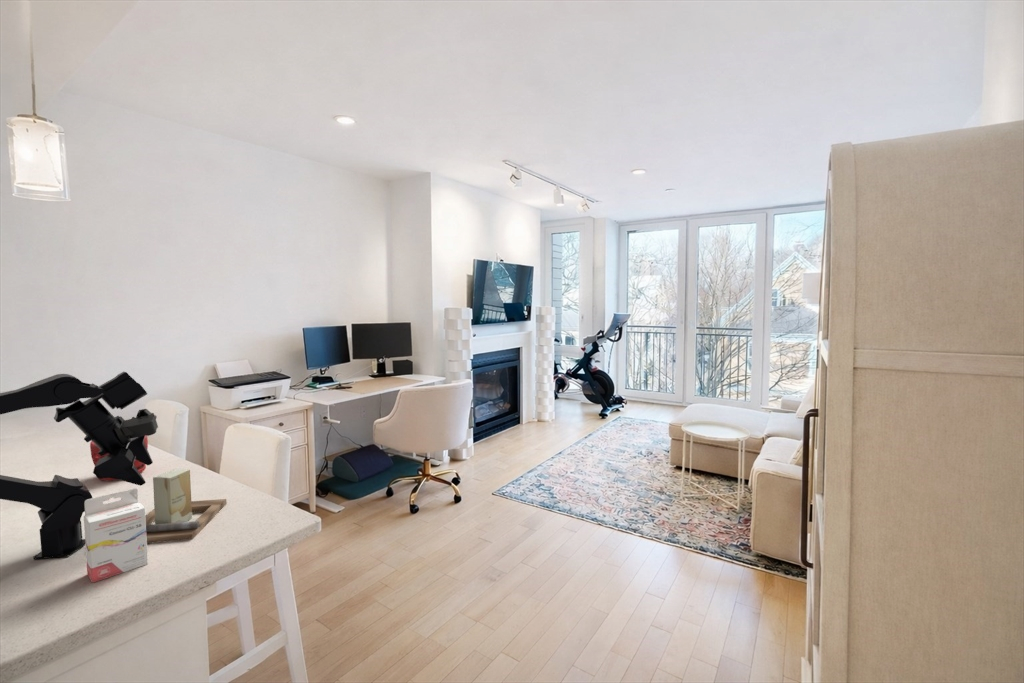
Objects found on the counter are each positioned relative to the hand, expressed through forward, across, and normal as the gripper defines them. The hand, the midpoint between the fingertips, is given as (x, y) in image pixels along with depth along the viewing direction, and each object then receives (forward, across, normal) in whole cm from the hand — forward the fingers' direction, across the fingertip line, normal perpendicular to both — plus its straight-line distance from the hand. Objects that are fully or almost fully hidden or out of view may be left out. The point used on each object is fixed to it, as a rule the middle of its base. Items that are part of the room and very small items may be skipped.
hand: (147, 473), depth 107 cm
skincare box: (+13, -4, +1) cm, 14 cm away
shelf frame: (+13, -4, +1) cm, 14 cm away
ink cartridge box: (+6, -22, +6) cm, 24 cm away
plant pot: (+12, +40, +22) cm, 47 cm away
